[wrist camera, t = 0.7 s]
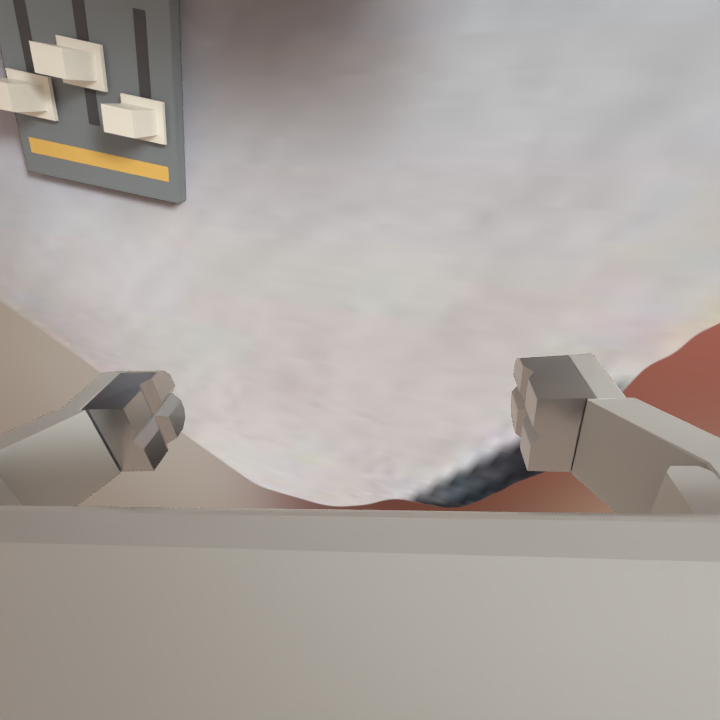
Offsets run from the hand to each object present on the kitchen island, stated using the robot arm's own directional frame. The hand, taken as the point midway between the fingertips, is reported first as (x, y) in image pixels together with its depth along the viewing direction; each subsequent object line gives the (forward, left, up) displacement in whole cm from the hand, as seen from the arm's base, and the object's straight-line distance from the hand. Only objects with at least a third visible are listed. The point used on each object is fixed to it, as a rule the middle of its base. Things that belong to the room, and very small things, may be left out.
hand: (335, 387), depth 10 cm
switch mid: (-3, -33, -41) cm, 53 cm away
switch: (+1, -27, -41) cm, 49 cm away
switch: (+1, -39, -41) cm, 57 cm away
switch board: (-3, -33, -43) cm, 55 cm away
